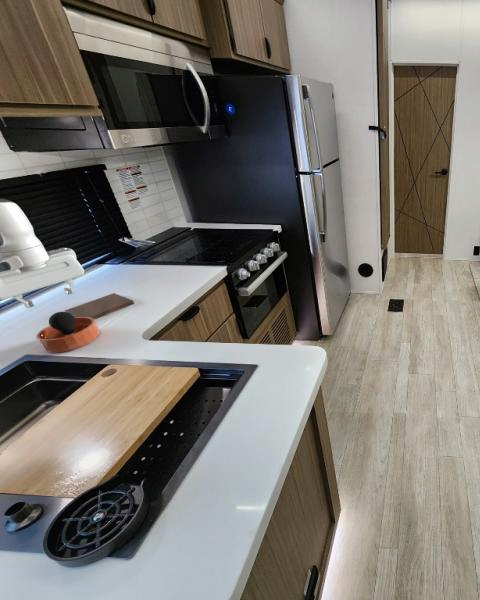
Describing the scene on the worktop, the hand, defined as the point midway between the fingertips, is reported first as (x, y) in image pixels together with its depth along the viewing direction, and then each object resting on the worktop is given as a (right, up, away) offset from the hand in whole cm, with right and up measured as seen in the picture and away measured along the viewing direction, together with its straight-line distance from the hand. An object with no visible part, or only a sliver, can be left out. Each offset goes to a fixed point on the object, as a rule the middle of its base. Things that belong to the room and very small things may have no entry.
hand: (51, 299), depth 100 cm
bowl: (0, -13, +7) cm, 15 cm away
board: (-8, -3, +26) cm, 27 cm away
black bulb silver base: (0, -13, +7) cm, 15 cm away
